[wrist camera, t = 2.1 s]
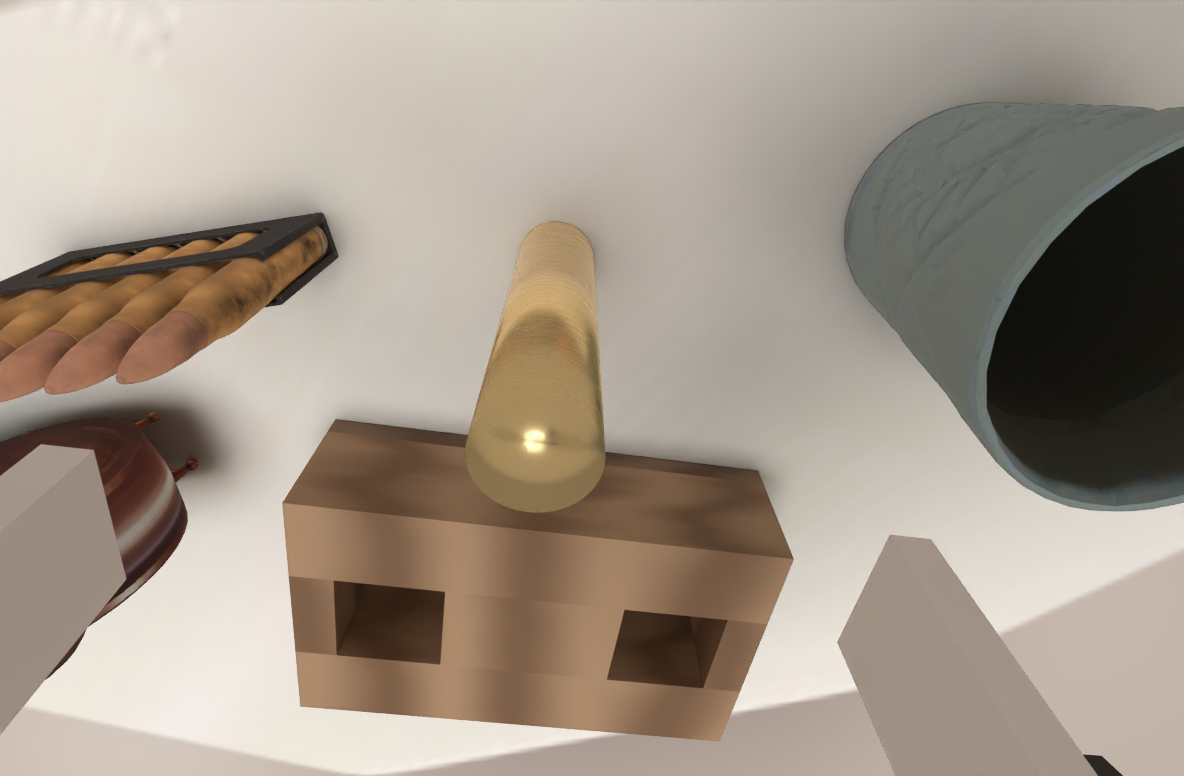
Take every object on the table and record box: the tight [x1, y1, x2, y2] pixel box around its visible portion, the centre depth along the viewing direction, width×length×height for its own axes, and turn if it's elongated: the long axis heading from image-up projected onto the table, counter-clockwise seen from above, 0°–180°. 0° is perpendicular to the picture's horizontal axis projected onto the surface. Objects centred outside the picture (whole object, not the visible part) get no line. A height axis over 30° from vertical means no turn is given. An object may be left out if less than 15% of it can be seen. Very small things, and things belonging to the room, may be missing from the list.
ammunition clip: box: [0, 213, 338, 402], centre depth 21 cm, size 11×2×12 cm, turn 98°
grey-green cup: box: [845, 102, 1184, 511], centre depth 20 cm, size 10×10×12 cm
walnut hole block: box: [282, 420, 794, 741], centre depth 31 cm, size 20×12×6 cm, turn 81°
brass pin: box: [465, 222, 605, 513], centre depth 20 cm, size 3×3×14 cm
